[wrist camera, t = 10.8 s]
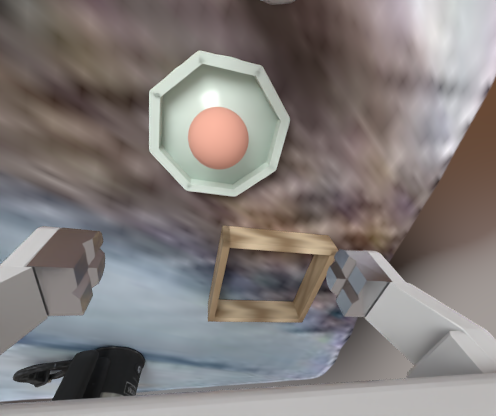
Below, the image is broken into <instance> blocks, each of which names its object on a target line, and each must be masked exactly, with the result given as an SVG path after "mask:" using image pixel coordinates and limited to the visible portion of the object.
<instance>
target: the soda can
mask: <svg viewBox="0 0 496 416" xmlns="http://www.w3.org/2000/svg"><path fill="white" fill-rule="evenodd" d="M261 1H264V2H266V3H268V4H271V5H274V4H288V3H292V2H293V1H295V0H261Z"/></svg>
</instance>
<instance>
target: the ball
mask: <svg viewBox="0 0 496 416" xmlns="http://www.w3.org/2000/svg"><path fill="white" fill-rule="evenodd" d="M248 142H249V137H248V131H247V128H246V125H245V123H244V122H243V120H242V119H241V118H240V116H239V115H237V114H236V113H235V112H233V111H232V110H230V109H227V108H224V107H211V108H207V109H205V110H203V111H202V112H200V113H199V114H198V115H197V116H196V117H195V118H194V119H193V121H192V123H191V125H190V128H189V132H188V143H189V147H190V150H191V152H192V154H193V155H194V157H195V158H196V159H197V160H198V161H199V162H200V163H201V164H203V165H204V166H206V167H209V168H212V169H227V168H230V167H232V166H234V165H235V164H237V163H238V162H239V161H240V160H241V159H242V158H243V156H244V155H245V153H246V151H247V148H248Z"/></svg>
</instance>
